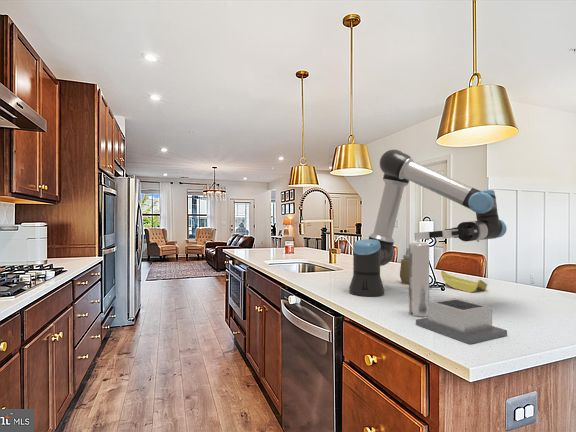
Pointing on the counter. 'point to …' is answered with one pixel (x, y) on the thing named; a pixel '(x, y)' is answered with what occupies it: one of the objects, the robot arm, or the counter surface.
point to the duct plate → (461, 320)
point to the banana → (463, 283)
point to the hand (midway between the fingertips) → (428, 235)
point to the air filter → (418, 278)
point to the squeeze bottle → (405, 268)
